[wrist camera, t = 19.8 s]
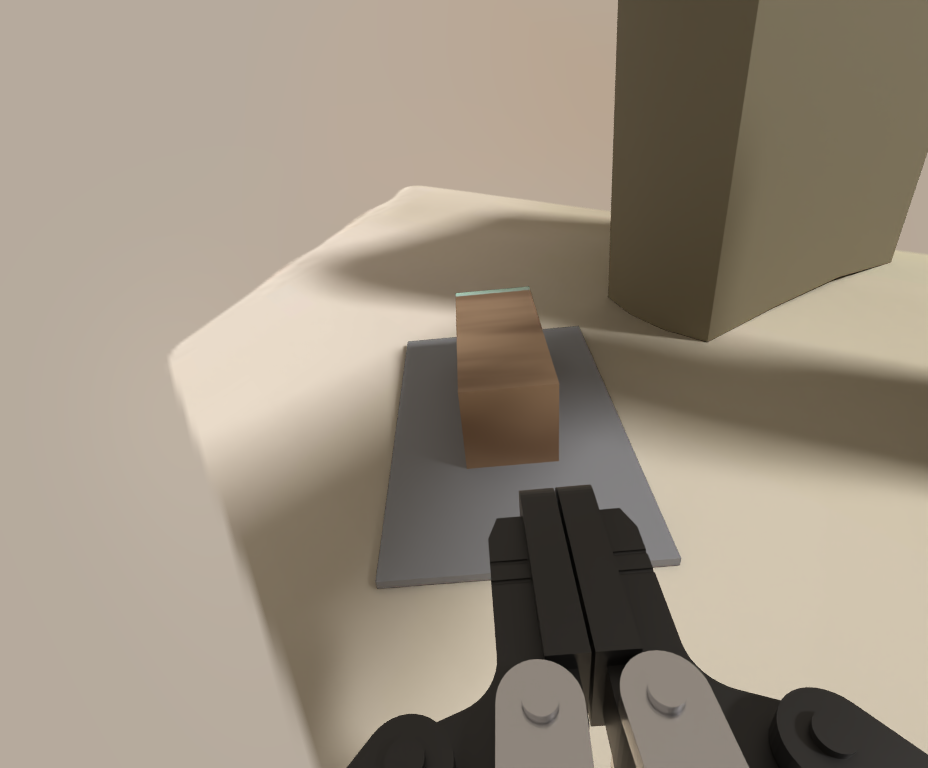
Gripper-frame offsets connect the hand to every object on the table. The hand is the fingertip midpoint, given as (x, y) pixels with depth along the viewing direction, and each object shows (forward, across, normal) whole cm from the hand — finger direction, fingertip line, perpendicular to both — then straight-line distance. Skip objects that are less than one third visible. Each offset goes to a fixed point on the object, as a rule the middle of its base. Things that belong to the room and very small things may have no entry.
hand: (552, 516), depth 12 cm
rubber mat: (+16, 0, +10) cm, 18 cm away
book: (+31, -20, +10) cm, 38 cm away
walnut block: (+12, 0, +7) cm, 14 cm away
